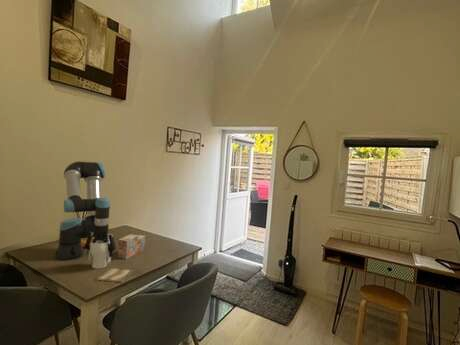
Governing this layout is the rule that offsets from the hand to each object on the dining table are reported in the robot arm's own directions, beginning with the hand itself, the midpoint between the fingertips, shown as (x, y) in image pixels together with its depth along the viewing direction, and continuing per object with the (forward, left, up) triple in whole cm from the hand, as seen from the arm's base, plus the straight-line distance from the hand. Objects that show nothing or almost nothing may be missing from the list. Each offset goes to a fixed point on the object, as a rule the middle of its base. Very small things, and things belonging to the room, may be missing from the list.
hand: (99, 261), depth 149 cm
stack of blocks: (+10, +24, -3) cm, 26 cm away
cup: (0, 0, -3) cm, 3 cm away
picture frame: (+14, -9, -3) cm, 17 cm away
